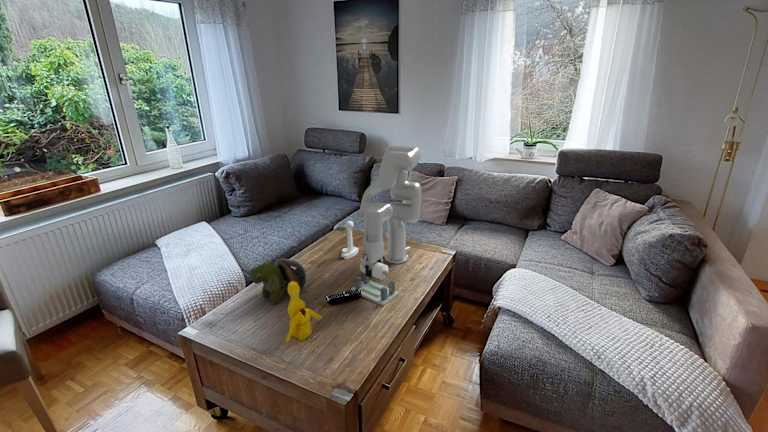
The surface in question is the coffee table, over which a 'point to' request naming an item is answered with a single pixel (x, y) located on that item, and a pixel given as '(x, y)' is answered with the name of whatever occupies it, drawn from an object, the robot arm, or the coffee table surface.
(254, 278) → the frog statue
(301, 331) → the figure statuette
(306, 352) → the coffee table surface
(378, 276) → the paper roll
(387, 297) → the roll holder
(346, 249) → the joystick
